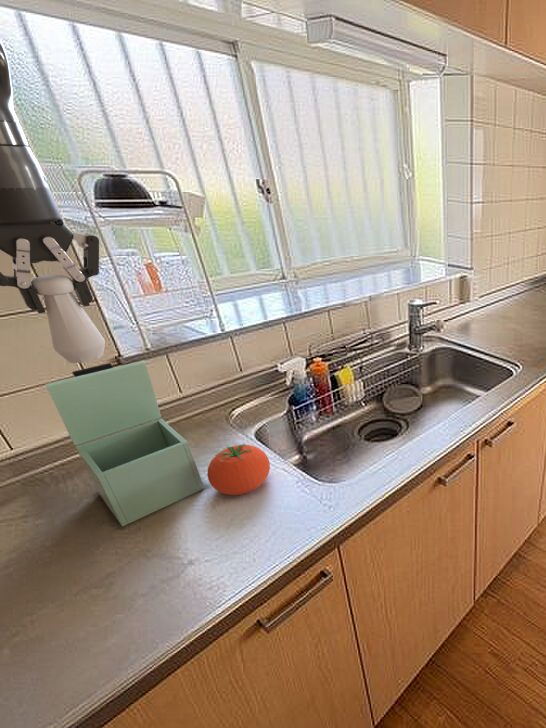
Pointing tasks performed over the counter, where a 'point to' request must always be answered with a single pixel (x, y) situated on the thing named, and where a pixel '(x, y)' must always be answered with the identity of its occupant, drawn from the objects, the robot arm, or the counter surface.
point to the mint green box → (141, 469)
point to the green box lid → (104, 400)
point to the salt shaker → (68, 320)
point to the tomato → (238, 469)
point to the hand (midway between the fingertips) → (63, 307)
